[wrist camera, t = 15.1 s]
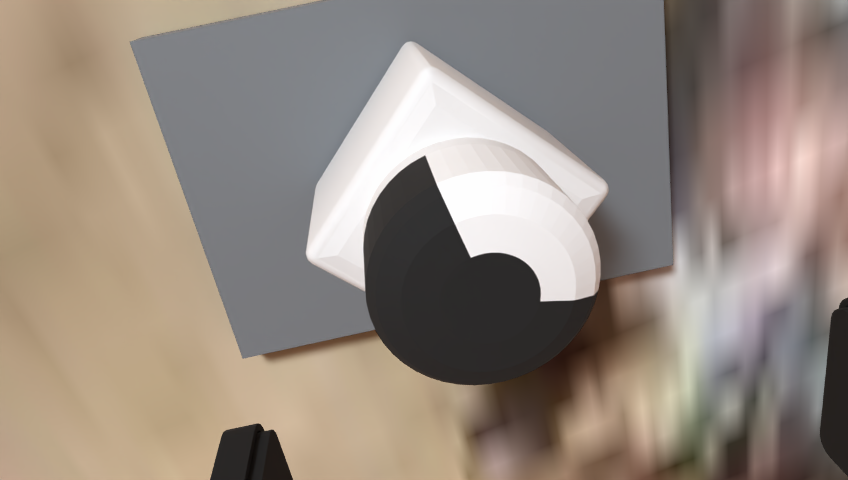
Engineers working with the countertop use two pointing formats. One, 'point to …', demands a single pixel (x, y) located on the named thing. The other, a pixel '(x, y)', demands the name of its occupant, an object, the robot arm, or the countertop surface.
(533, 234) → the medicine bottle
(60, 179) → the countertop surface
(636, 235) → the serving board
